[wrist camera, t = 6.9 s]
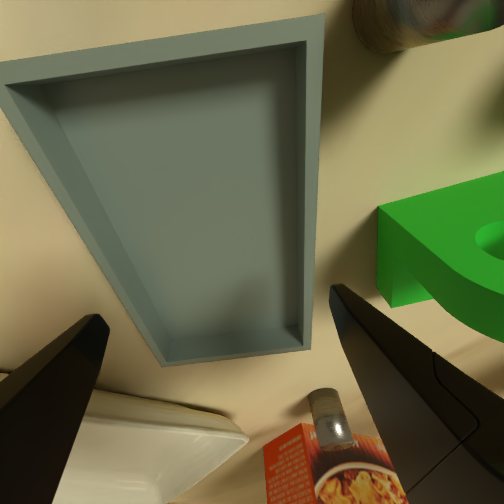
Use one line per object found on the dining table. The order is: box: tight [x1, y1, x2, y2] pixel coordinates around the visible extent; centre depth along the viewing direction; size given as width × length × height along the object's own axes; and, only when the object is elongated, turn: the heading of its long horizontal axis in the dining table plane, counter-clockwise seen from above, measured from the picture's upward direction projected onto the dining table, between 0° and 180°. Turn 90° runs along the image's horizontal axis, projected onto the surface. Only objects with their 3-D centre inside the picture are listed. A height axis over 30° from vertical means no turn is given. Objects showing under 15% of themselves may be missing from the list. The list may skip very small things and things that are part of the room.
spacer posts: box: [308, 0, 504, 451], centre depth 14 cm, size 19×31×4 cm, turn 7°
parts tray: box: [0, 14, 325, 367], centre depth 12 cm, size 10×16×2 cm, turn 7°
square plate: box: [0, 373, 249, 504], centre depth 25 cm, size 27×27×4 cm
